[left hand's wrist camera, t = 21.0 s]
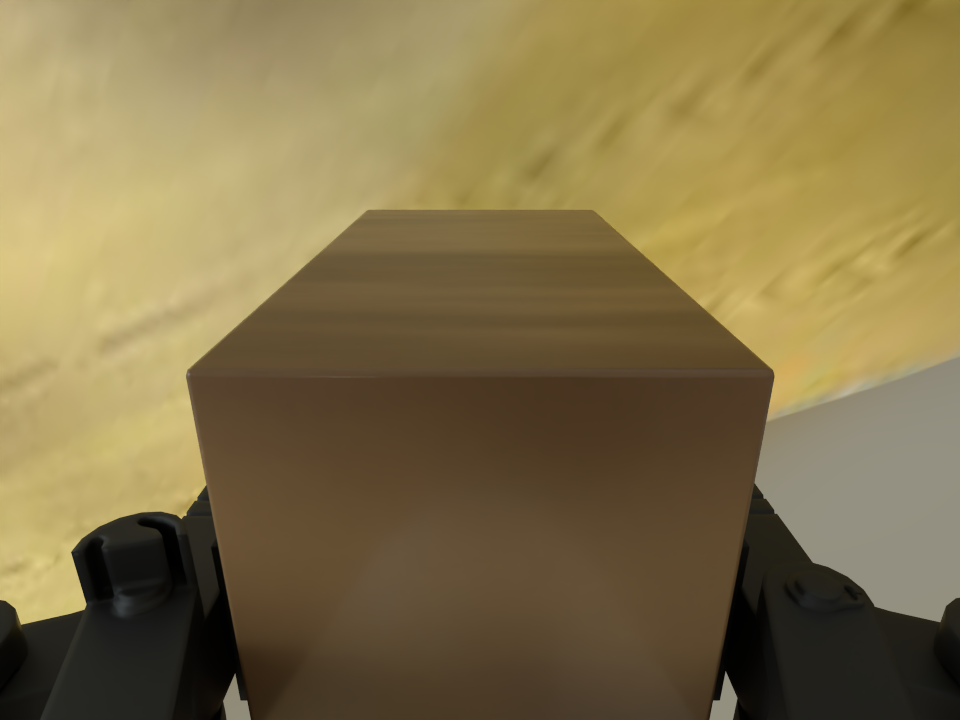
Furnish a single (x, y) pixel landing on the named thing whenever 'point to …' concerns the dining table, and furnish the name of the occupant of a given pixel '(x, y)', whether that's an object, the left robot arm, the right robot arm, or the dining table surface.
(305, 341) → the block
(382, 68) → the dining table surface
